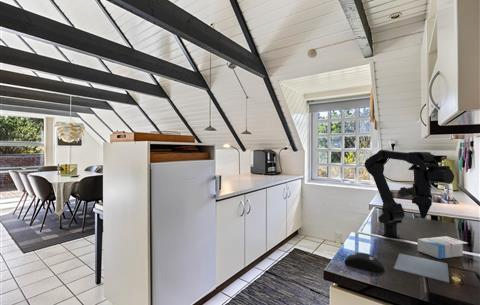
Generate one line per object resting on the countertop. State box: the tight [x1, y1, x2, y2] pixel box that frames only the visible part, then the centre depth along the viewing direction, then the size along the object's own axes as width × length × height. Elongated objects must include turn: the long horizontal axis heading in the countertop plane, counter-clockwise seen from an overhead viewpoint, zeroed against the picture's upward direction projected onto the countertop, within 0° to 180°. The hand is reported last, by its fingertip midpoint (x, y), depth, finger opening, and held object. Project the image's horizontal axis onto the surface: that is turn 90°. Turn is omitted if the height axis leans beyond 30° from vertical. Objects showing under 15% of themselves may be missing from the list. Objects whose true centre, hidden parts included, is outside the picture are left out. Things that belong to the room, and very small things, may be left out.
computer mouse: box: [344, 252, 385, 274], centre depth 81 cm, size 8×12×4 cm, turn 50°
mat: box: [393, 253, 450, 283], centre depth 81 cm, size 16×14×1 cm
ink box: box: [417, 235, 469, 260], centre depth 92 cm, size 8×5×15 cm
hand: (423, 218), depth 99 cm, fingers closed
